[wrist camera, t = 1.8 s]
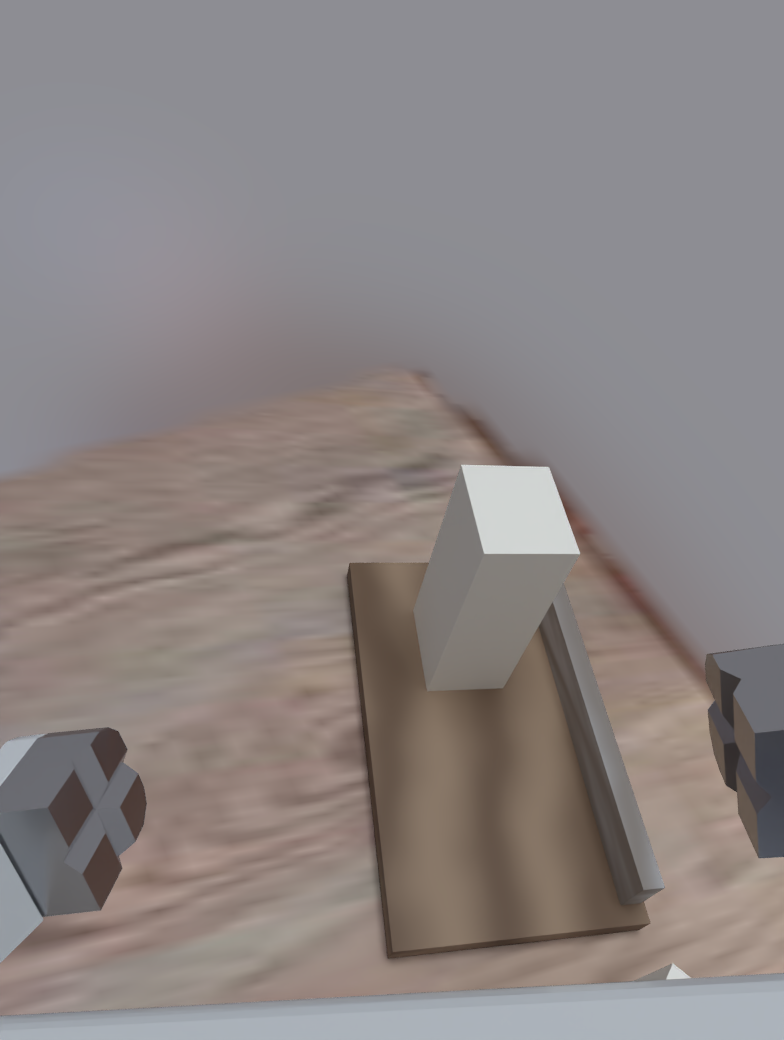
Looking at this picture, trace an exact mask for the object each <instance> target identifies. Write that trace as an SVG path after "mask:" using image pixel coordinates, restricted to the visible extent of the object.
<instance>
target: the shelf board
mask: <svg viewBox="0 0 784 1040" xmlns="http://www.w3.org/2000/svg"><path fill="white" fill-rule="evenodd" d="M428 564H429V563H350V564H349V569H348V574H347V578H348V588H349V597H350V607H351V616H352V625H353V635H354V644H355V653H356V663H357V672H358V682H359V691H360V700H361V710H362V719H363V729H364V738H365V747H366V757H367V766H368V775H369V785H370V794H371V804H372V813H373V822H374V832H375V841H376V850H377V860H378V869H379V879H380V888H381V897H382V907H383V916H384V925H385V935H386V944H387V954H388V958H396V957H405V956H414V955H422V954H431V953H440V952H449V951H458V950H466V949H475V948H484V947H493V946H502V945H510V944H519V943H528V942H537V941H546V940H554V939H563V938H572V937H581V936H590V935H598V934H607V933H616V932H625V931H634V930H640V929H641V928H643V927H645V926H647V925H648V924H650V920H649V917H648V914H647V911H646V907H645V904H644V901H645V900H647V899H648V898H650V897H651V896H653V895H654V894H656V893H658V892H659V891H661V890H662V889H664V888H665V886H664V883H663V880H662V877H661V874H660V871H659V868H658V865H657V862H656V859H655V856H654V853H653V850H652V847H651V844H650V841H649V838H648V835H647V832H646V829H645V826H644V823H643V820H642V817H641V814H640V811H639V808H638V805H637V802H636V799H635V796H634V793H633V790H632V787H631V784H630V781H629V778H628V775H627V772H626V769H625V766H624V763H623V760H622V757H621V754H620V751H619V748H618V745H617V742H616V739H615V736H614V733H613V730H612V727H611V724H610V721H609V718H608V715H607V712H606V709H605V706H604V703H603V700H602V697H601V694H600V691H599V688H598V685H597V682H596V679H595V676H594V673H593V670H592V667H591V664H590V661H589V658H588V655H587V652H586V649H585V646H584V643H583V640H582V637H581V634H580V631H579V628H578V625H577V622H576V619H575V616H574V613H573V610H572V607H571V604H570V601H569V598H568V595H567V592H566V589H565V586H564V583H563V585H562V586H561V588H560V590H559V592H558V593H557V595H556V597H555V599H554V600H553V602H552V604H551V606H550V607H549V609H548V611H547V612H546V614H545V616H544V618H543V619H542V621H541V623H540V625H539V626H538V628H537V630H536V632H535V633H534V635H533V637H532V639H531V640H530V642H529V644H528V646H527V647H526V649H525V651H524V653H523V654H522V656H521V658H520V660H519V661H518V663H517V665H516V667H515V668H514V670H513V672H512V673H511V675H510V677H509V679H508V680H507V682H506V684H505V686H504V687H503V688H497V689H471V690H446V691H427V688H426V682H425V677H424V671H423V665H422V659H421V653H420V647H419V641H418V635H417V630H416V624H415V618H414V612H413V610H414V607H415V604H416V601H417V597H418V594H419V591H420V588H421V585H422V582H423V579H424V576H425V573H426V570H427V567H428Z"/></svg>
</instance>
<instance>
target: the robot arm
mask: <svg viewBox="0 0 784 1040" xmlns="http://www.w3.org/2000/svg"><path fill="white" fill-rule="evenodd" d="M705 670H706V682H707V684H708V686H709V688H710V691H711V693H712V695H713V697H714V699H715V701H714V702H713V704H712V705H711V706H710V708H709V709H708V718H709V729H710V736H711V741H712V746H713V751H714V755H715V758H716V761H717V764H718V767H719V770H720V772H721V775H722V777H723V779H724V782H725V784H726V786H728V787H730V788H731V789H733V790H734V791H736V792H737V798H738V814H739V816H740V818H741V820H742V823H743V825H744V827H745V829H746V831H747V834H748V836H749V838H750V840H751V842H752V845H753V847H754V849H755V851H756V853H757V856H758V858H773V857H784V644H779V645H771V646H763V647H756V648H748V649H741V650H733V651H725V652H718V653H710V654H707V655H706V662H705ZM126 752H127V747H126V745H125V743H124V741H123V739H122V738H121V736H120V734H119V732H118V731H116V730H114V729H111V728H109V727H106V728H96V729H86V730H76V731H66V732H56V733H48V734H38V735H30V736H22V737H17V738H14V739H12V740H9V741H7V742H6V743H5V744H4V745H3V747H2V748H1V749H0V963H1V962H2V961H3V960H4V959H5V958H6V957H7V956H8V955H9V954H10V953H11V952H12V951H13V950H14V949H15V948H16V947H17V946H18V945H19V944H20V943H21V942H22V941H23V940H24V939H25V938H26V937H27V936H28V935H29V934H30V933H31V932H32V931H33V930H34V929H35V928H36V927H37V926H38V925H39V924H40V923H41V922H42V921H43V917H45V916H54V915H63V914H72V913H81V912H90V911H99V910H101V909H102V907H103V905H104V903H105V901H106V899H107V897H108V895H109V894H110V892H111V890H112V888H113V886H114V884H115V882H116V880H117V878H118V876H119V874H120V872H121V870H122V865H121V862H120V858H119V855H120V854H122V853H123V852H124V851H125V850H126V849H127V848H129V847H130V846H131V845H132V844H133V843H135V842H136V840H137V838H138V836H139V833H140V831H141V829H142V827H143V825H144V819H145V812H146V805H147V802H146V796H145V790H144V786H143V783H142V781H141V779H140V776H139V774H138V773H137V772H135V771H134V770H133V769H131V768H130V767H129V766H127V765H126V764H124V763H123V761H124V758H125V755H126ZM0 1040H784V973H773V974H756V975H738V976H720V977H703V978H685V979H667V980H649V981H630V982H611V983H592V984H574V985H555V986H536V987H517V988H499V989H480V990H461V991H442V992H424V993H405V994H387V995H369V996H351V997H333V998H315V999H297V1000H279V1001H261V1002H243V1003H225V1004H207V1005H189V1006H171V1007H152V1008H134V1009H116V1010H98V1011H80V1012H62V1013H43V1014H25V1015H7V1016H0Z"/></svg>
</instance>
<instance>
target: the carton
mask: <svg viewBox="0 0 784 1040" xmlns="http://www.w3.org/2000/svg"><path fill="white" fill-rule="evenodd" d="M579 555H580V552H579V549H578V547H577V544H576V541H575V538H574V535H573V533H572V530H571V527H570V524H569V522H568V519H567V516H566V513H565V511H564V508H563V505H562V502H561V499H560V497H559V494H558V491H557V488H556V486H555V483H554V480H553V477H552V475H551V472H550V469H549V467H524V466H485V465H461V467H460V470H459V473H458V476H457V479H456V482H455V485H454V488H453V491H452V494H451V497H450V500H449V504H448V507H447V510H446V513H445V516H444V519H443V522H442V525H441V528H440V531H439V534H438V537H437V540H436V543H435V546H434V549H433V552H432V555H431V558H430V561H429V564H428V567H427V570H426V573H425V576H424V579H423V582H422V585H421V588H420V591H419V594H418V597H417V601H416V604H415V607H414V610H413V612H414V618H415V624H416V630H417V635H418V641H419V647H420V653H421V659H422V665H423V671H424V677H425V682H426V688H427V691H446V690H471V689H497V688H503V687H504V686H505V684H506V682H507V680H508V679H509V677H510V675H511V673H512V672H513V670H514V668H515V667H516V665H517V663H518V661H519V660H520V658H521V656H522V654H523V653H524V651H525V649H526V647H527V646H528V644H529V642H530V640H531V639H532V637H533V635H534V633H535V632H536V630H537V628H538V626H539V625H540V623H541V621H542V619H543V618H544V616H545V614H546V612H547V611H548V609H549V607H550V606H551V604H552V602H553V600H554V599H555V597H556V595H557V593H558V592H559V590H560V588H561V586H562V585H563V583H564V581H565V579H566V578H567V576H568V574H569V572H570V571H571V569H572V567H573V565H574V564H575V562H576V560H577V558H578V557H579Z"/></svg>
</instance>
